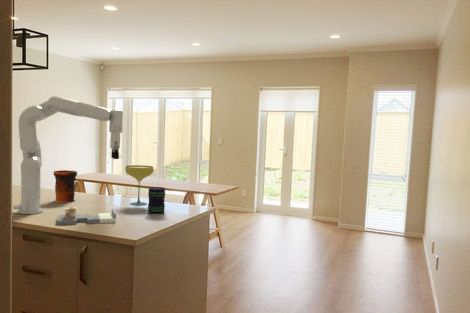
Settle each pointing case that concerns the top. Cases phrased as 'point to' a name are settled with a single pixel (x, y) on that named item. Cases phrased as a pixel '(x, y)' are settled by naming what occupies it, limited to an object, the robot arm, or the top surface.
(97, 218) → the trap board
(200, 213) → the top surface
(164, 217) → the top surface
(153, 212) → the storage jar
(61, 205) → the top surface
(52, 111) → the robot arm
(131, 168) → the cocktail glass
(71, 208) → the maple block
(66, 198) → the vessel
